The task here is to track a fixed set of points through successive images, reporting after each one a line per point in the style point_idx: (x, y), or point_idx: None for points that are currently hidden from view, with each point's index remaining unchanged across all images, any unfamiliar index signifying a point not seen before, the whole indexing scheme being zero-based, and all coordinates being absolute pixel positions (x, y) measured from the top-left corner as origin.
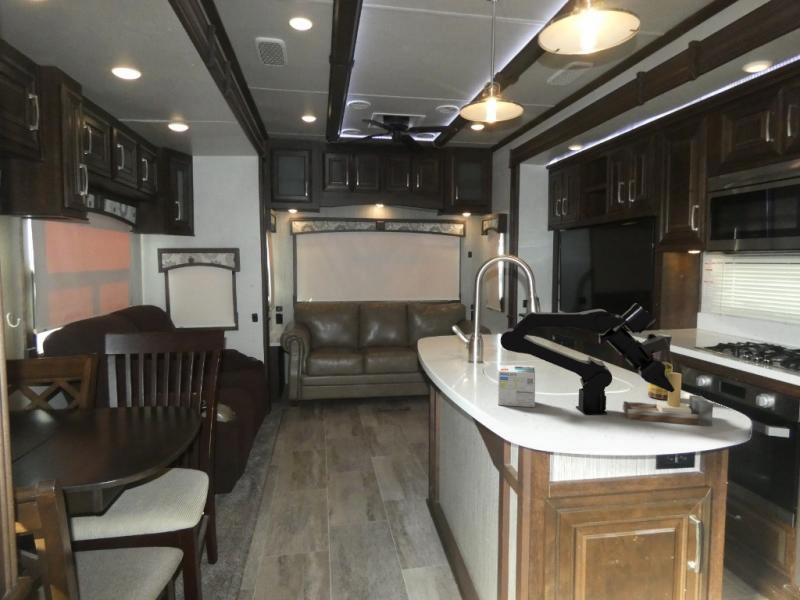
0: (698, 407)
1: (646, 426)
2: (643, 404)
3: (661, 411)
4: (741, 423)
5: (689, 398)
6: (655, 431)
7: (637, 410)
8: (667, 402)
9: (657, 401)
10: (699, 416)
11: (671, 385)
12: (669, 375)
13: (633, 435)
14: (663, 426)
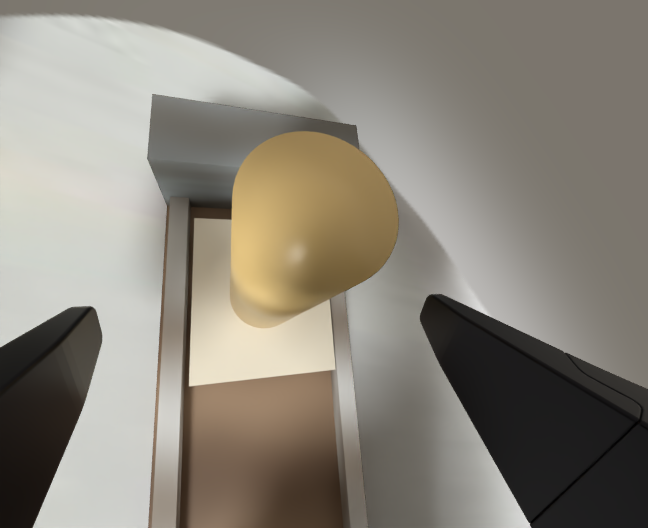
0: None
1: (428, 444)
2: (179, 474)
3: (338, 372)
4: (251, 70)
5: (153, 171)
6: None
7: (366, 516)
8: (203, 318)
9: (195, 383)
10: None
11: (488, 320)
12: (339, 293)
13: None
14: (399, 369)
